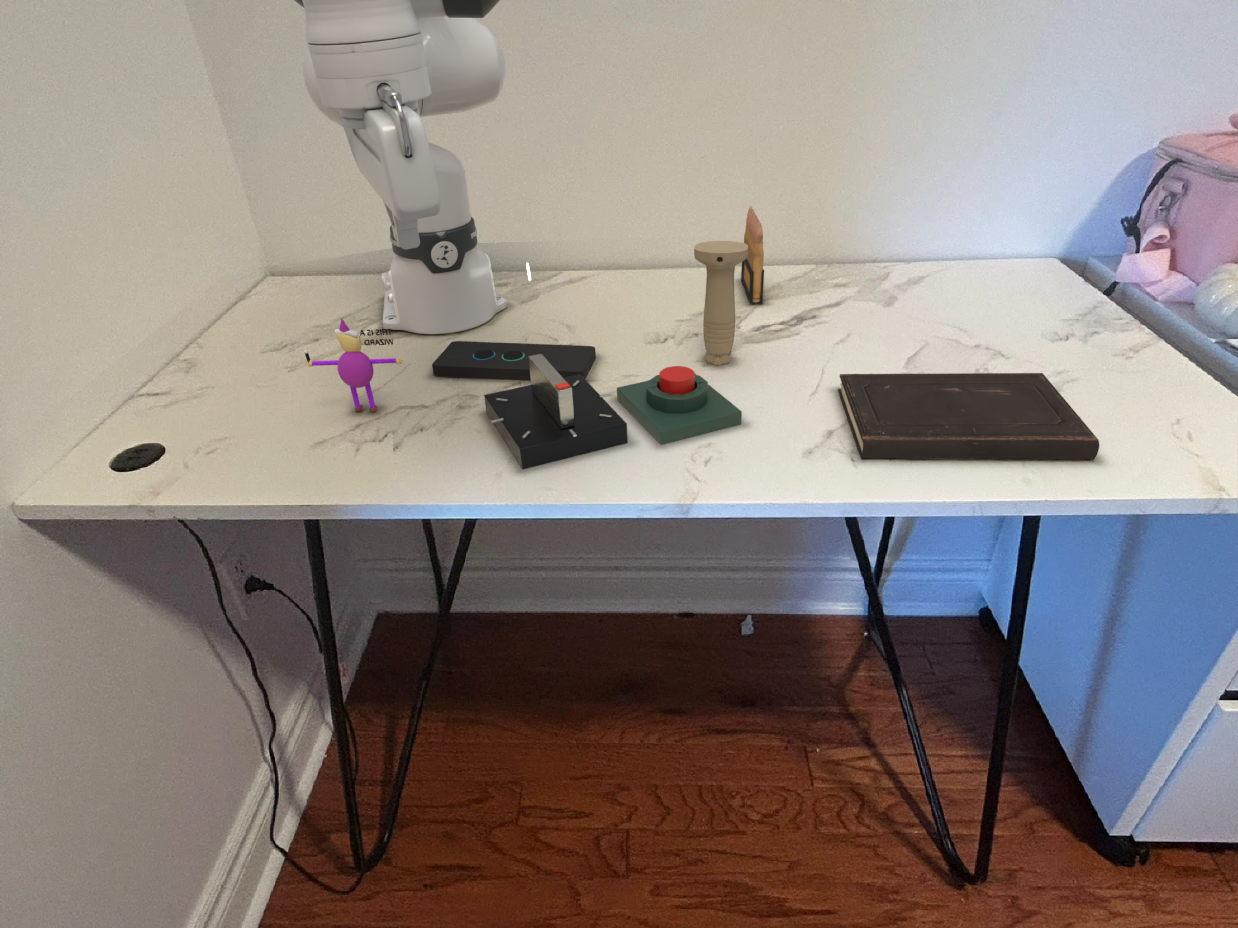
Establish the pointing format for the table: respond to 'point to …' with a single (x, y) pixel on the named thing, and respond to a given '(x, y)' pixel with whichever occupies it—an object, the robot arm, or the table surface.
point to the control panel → (554, 424)
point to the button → (677, 380)
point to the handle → (719, 296)
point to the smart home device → (510, 360)
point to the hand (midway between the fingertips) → (407, 244)
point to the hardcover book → (963, 417)
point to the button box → (678, 410)
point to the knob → (552, 391)
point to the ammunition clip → (753, 260)
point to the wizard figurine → (355, 362)
